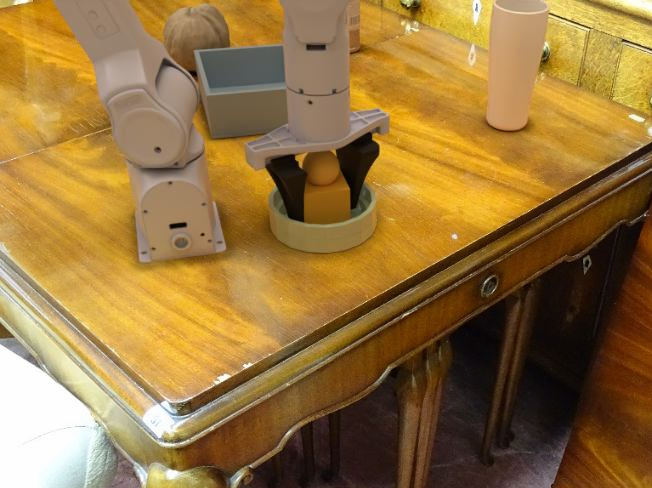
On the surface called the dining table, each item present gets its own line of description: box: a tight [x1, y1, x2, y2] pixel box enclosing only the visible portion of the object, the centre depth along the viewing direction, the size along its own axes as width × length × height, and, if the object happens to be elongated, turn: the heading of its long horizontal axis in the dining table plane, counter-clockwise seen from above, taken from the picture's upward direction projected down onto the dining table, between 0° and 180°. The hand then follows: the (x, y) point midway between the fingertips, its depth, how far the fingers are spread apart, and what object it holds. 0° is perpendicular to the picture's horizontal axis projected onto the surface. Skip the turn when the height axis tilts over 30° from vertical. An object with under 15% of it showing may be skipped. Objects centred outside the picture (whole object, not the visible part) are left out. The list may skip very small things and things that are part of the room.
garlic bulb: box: [162, 2, 231, 74], centre depth 105 cm, size 9×8×10 cm
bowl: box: [267, 181, 378, 254], centre depth 78 cm, size 11×11×4 cm
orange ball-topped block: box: [301, 150, 350, 225], centre depth 76 cm, size 5×5×8 cm
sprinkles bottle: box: [346, 0, 362, 54], centre depth 112 cm, size 5×5×13 cm
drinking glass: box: [485, 0, 550, 132], centre depth 95 cm, size 7×7×15 cm
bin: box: [194, 43, 288, 140], centre depth 97 cm, size 14×13×6 cm
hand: (323, 213), depth 78 cm, fingers closed on orange ball-topped block, 5 cm apart
